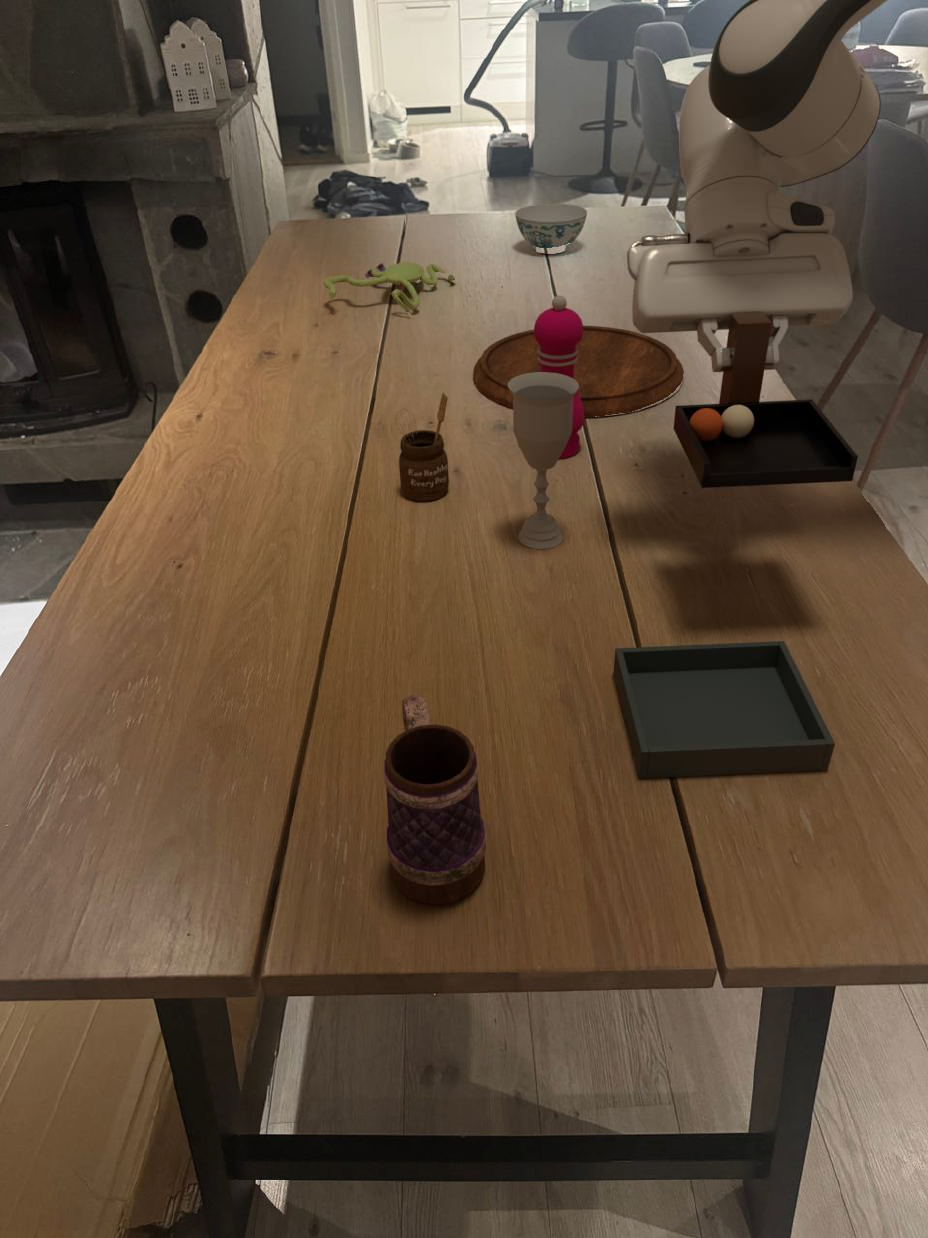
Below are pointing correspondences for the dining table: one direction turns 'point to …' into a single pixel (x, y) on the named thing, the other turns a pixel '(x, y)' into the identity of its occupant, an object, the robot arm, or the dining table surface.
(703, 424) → the ball
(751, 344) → the pan
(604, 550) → the dining table surface
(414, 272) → the figurine
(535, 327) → the pepper mill
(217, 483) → the dining table surface
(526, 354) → the cutting board
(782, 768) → the tray
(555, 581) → the dining table surface
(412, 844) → the mug
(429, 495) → the utensil holder
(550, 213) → the chinaware
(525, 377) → the chalice
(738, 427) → the ball
